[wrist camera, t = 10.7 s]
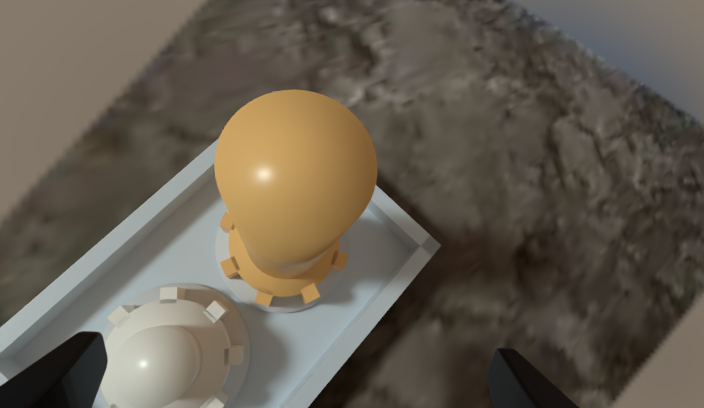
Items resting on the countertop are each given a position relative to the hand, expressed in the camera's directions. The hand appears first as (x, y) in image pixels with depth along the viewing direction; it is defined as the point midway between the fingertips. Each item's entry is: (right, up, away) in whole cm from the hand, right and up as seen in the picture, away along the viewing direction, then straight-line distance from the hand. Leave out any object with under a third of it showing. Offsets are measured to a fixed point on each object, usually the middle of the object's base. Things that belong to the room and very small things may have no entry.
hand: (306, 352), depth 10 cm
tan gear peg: (-2, +1, +12) cm, 12 cm away
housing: (-5, -1, +12) cm, 13 cm away
